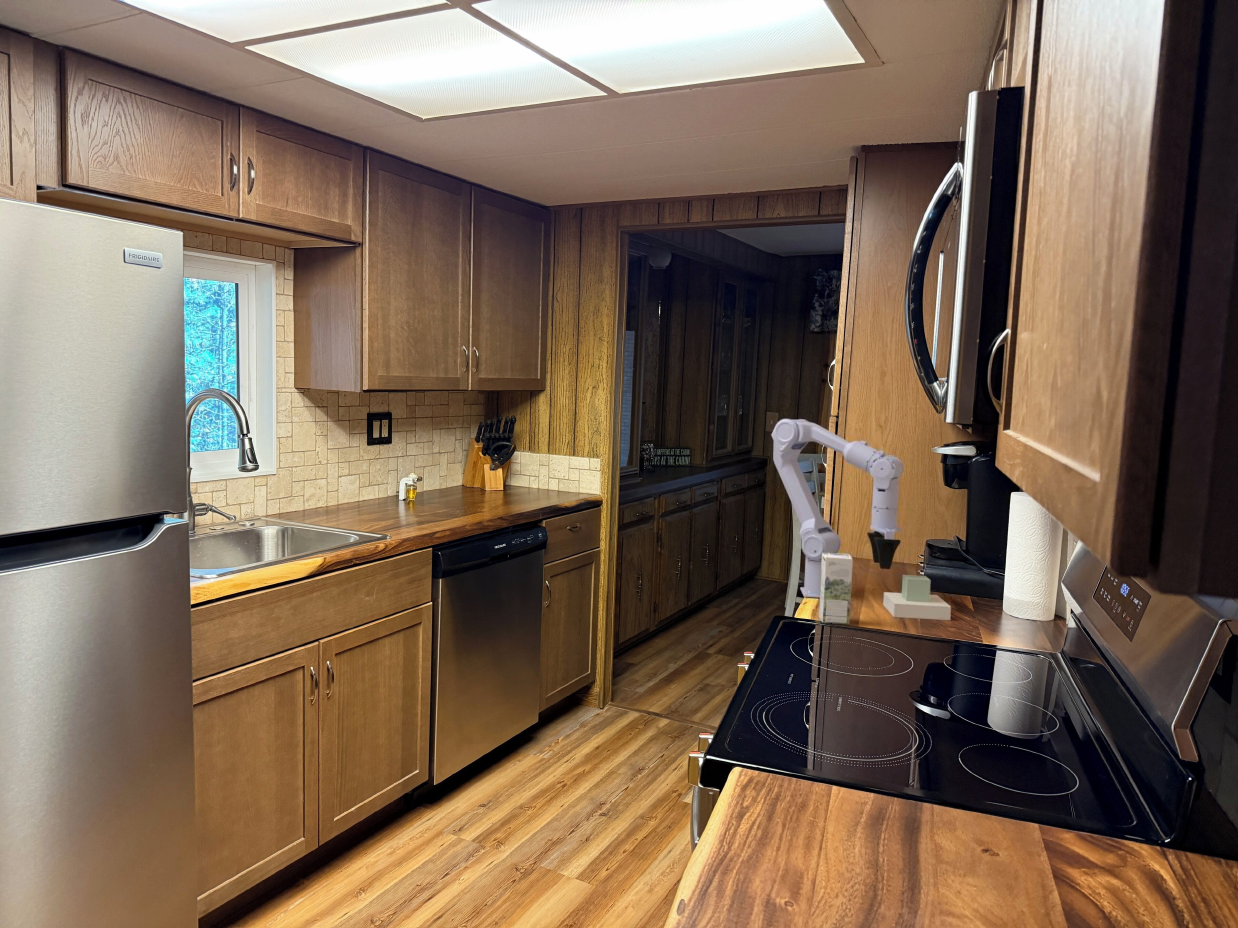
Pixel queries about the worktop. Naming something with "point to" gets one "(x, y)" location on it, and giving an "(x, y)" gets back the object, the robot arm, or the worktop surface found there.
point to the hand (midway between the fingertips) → (881, 565)
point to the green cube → (916, 588)
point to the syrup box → (835, 588)
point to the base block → (917, 607)
